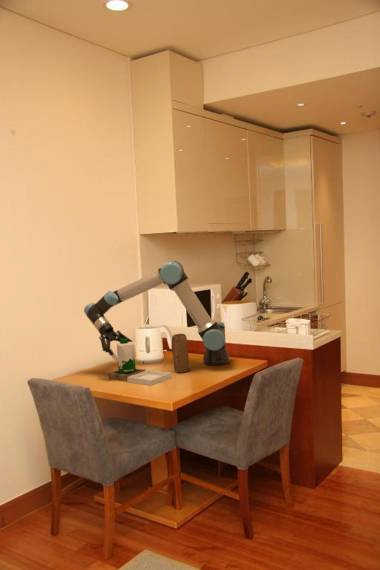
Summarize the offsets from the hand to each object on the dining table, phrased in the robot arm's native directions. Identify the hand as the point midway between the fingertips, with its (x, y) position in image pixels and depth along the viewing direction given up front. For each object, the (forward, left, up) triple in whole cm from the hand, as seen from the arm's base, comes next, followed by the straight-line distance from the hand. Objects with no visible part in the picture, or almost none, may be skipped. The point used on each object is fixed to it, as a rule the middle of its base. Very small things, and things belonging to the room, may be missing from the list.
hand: (126, 356), depth 287 cm
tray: (-15, 0, -11) cm, 19 cm away
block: (-19, -22, -11) cm, 31 cm away
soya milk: (0, 0, -11) cm, 11 cm away
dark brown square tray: (0, 0, -11) cm, 11 cm away
